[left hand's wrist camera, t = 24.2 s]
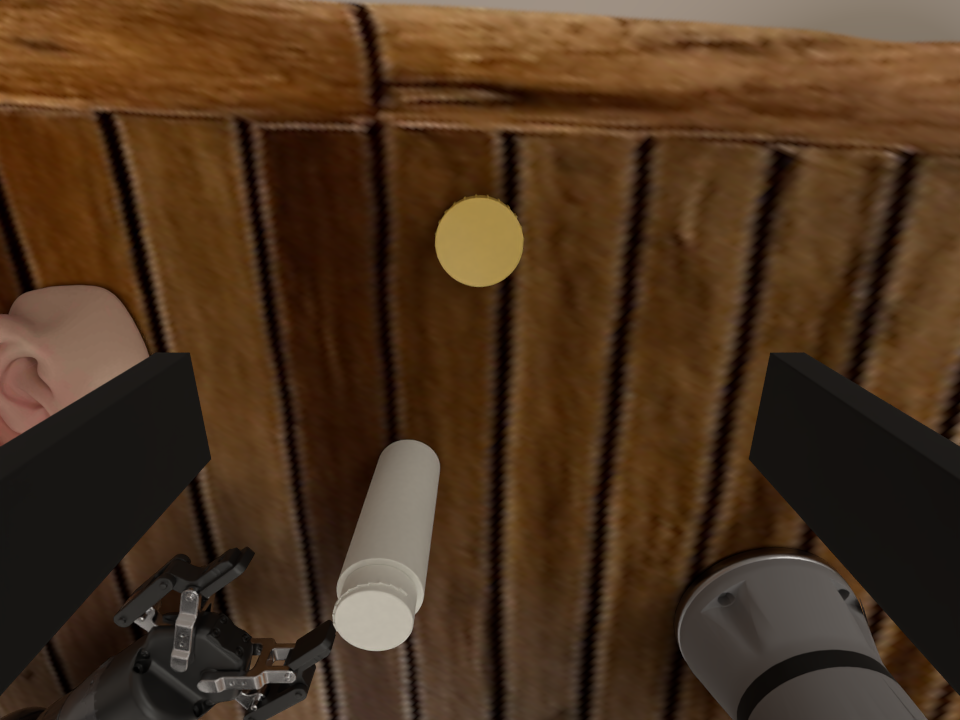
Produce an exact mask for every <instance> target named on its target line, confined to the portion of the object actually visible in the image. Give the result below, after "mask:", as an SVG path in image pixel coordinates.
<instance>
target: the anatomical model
mask: <svg viewBox="0 0 960 720" xmlns="http://www.w3.org/2000/svg"><path fill="white" fill-rule="evenodd" d="M148 357H149V354H148V351H147V348H146V346H145V343H144V341H143V339H142V337H141V335H140V332H139V330H138V328H137V327H136V325H135V323H134V321H133V319H132V317H131V316H130V314H129V313H128V311H127V309H126V308H125V306H124V305H123V304H122V302H121V301H120V300H119V299H118V298H117V297H116V296H115V295H114V294H112V293H111V292H110V291H108V290H106V289H104V288H101V287H97V286H88V285H70V286H54V287H47V288H43V289H38V290H33V291H29V292H26V293H24V294H22V295H21V296H19V297H18V298H17V299H16V300H15V302H14V303H13V305H12V307H11V309H10V312H9V314H0V446H2V445H4V444H5V443H7V442H9V441H10V440H12V439H14V438H15V437H17V436H19V435H20V434H22V433H23V432H25V431H27V430H28V429H30V428H32V427H33V426H35V425H37V424H38V423H40V422H42V421H43V420H45V419H47V418H48V417H50V416H52V415H53V414H55V413H57V412H58V411H60V410H62V409H63V408H65V407H67V406H68V405H70V404H72V403H73V402H75V401H77V400H78V399H80V398H82V397H83V396H85V395H86V394H88V393H90V392H91V391H93V390H95V389H96V388H98V387H100V386H101V385H103V384H105V383H106V382H108V381H110V380H111V379H113V378H115V377H116V376H118V375H120V374H121V373H123V372H125V371H126V370H128V369H130V368H131V367H133V366H135V365H136V364H138V363H140V362H141V361H143V360H145V359H146V358H148Z"/></svg>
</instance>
